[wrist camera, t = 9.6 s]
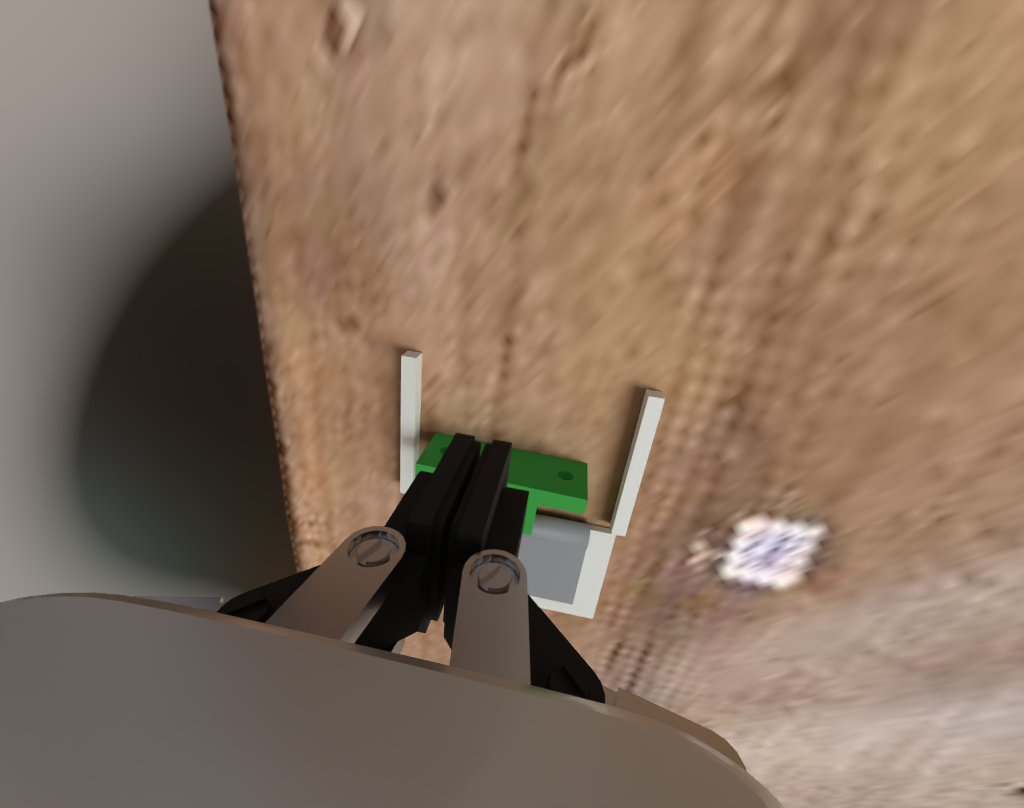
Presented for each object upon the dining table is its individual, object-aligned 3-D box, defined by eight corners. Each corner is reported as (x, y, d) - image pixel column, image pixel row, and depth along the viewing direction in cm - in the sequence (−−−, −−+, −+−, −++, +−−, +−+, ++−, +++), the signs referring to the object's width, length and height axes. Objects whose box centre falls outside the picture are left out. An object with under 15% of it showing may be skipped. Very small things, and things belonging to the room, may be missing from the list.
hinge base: (407, 350, 29) (397, 358, 28) (661, 391, 28) (666, 402, 26) (404, 572, 38) (396, 589, 36) (598, 614, 36) (599, 632, 35)
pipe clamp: (434, 472, 33) (412, 509, 29) (437, 430, 32) (414, 463, 28) (577, 504, 32) (575, 546, 28) (588, 462, 31) (587, 501, 27)
